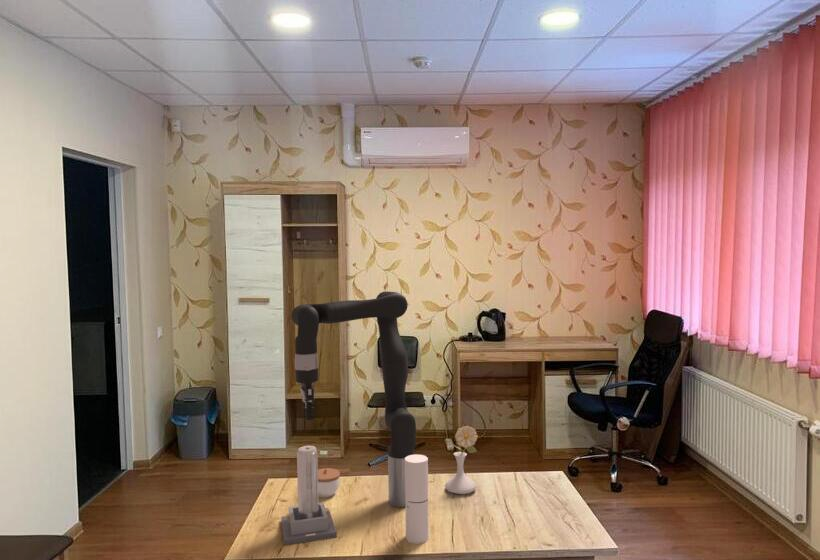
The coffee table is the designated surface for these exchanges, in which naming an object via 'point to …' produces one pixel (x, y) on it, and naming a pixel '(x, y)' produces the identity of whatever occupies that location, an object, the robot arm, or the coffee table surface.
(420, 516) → the cylindrical container
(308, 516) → the silver metal cylinder
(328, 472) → the lidded jar
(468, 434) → the flower in vase
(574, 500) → the coffee table surface
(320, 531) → the socket
